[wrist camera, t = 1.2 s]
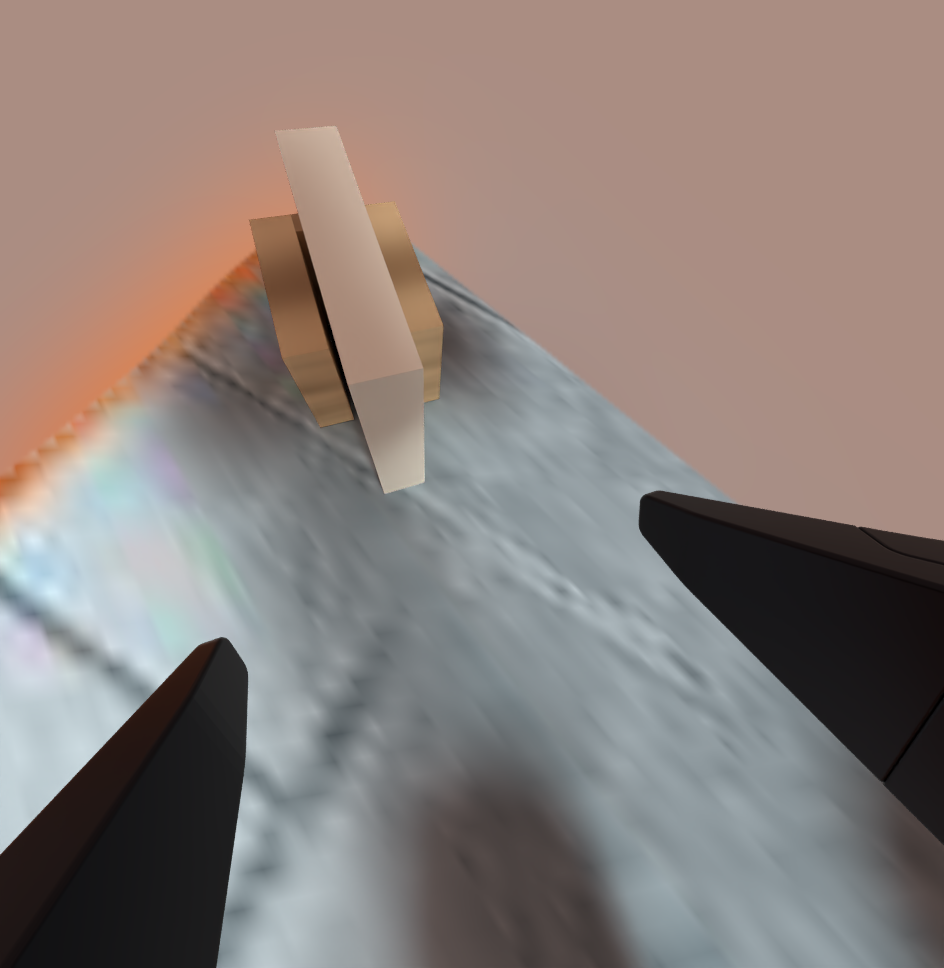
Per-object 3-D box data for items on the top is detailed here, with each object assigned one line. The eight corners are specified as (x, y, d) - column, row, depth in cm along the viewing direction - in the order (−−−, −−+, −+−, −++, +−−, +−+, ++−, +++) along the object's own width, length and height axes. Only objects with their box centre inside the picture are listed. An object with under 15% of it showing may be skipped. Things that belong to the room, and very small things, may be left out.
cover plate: (424, 482, 23) (423, 368, 12) (384, 494, 22) (347, 385, 12) (371, 322, 26) (336, 125, 16) (336, 328, 25) (274, 131, 15)
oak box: (439, 398, 24) (443, 325, 18) (320, 427, 23) (282, 358, 17) (401, 296, 27) (394, 201, 21) (291, 316, 25) (249, 219, 19)
